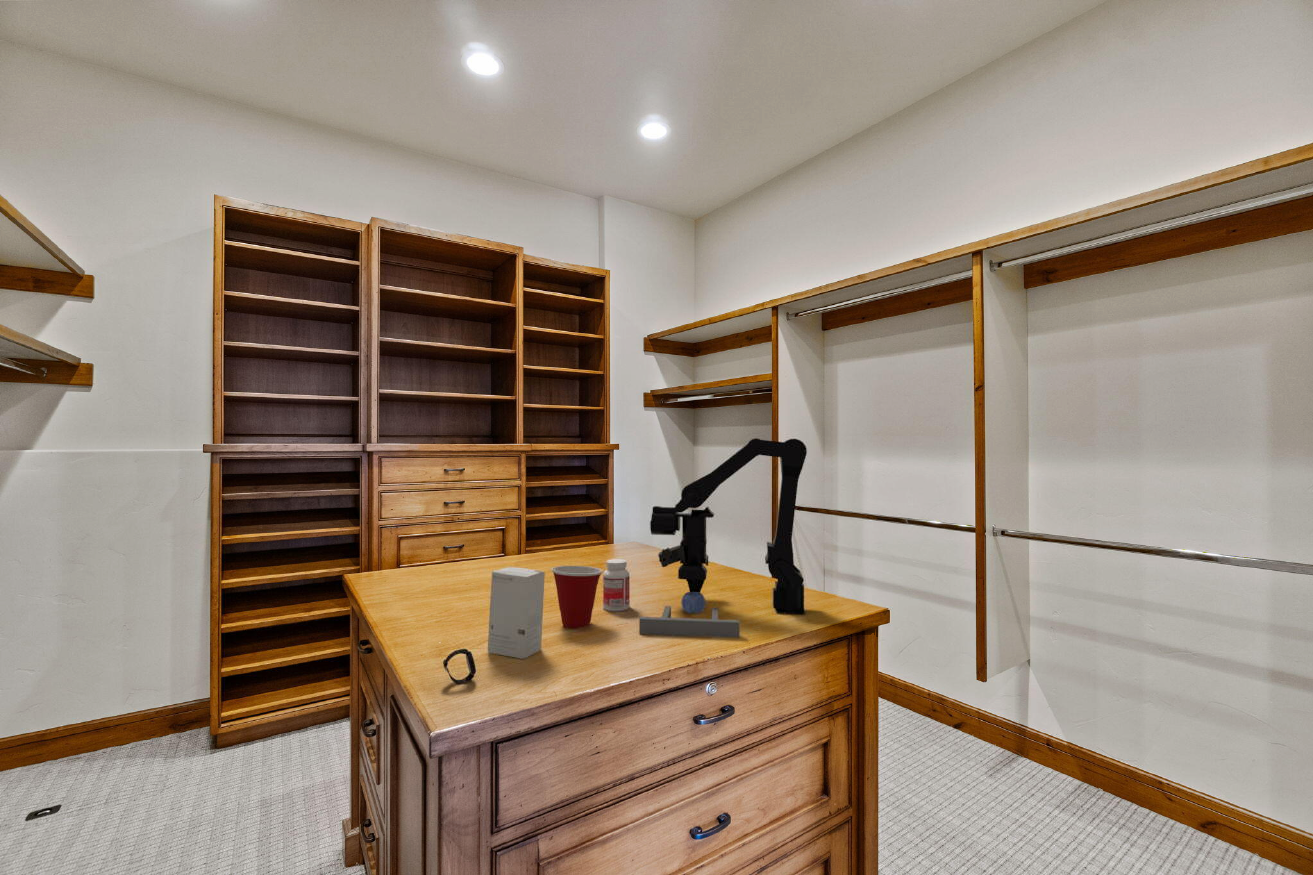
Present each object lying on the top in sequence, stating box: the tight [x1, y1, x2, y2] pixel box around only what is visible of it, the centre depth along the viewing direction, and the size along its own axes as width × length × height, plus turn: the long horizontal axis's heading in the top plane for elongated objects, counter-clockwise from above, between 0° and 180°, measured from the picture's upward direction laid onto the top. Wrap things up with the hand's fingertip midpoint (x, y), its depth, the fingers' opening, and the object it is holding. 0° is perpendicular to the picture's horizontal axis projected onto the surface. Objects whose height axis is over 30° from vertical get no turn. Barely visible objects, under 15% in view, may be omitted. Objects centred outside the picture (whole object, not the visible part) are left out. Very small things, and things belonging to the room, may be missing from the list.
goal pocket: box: [638, 605, 741, 639], centre depth 117 cm, size 20×10×3 cm, turn 83°
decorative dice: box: [681, 591, 707, 614], centre depth 130 cm, size 4×4×4 cm
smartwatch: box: [442, 648, 477, 685], centre depth 90 cm, size 4×5×5 cm
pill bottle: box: [602, 558, 631, 612], centre depth 132 cm, size 6×6×11 cm
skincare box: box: [487, 566, 546, 660], centre depth 104 cm, size 8×6×15 cm
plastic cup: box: [551, 565, 604, 630], centre depth 120 cm, size 11×11×12 cm
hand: (694, 601), depth 134 cm, fingers closed
